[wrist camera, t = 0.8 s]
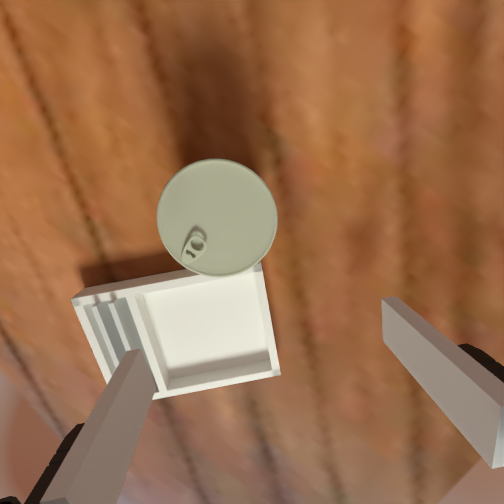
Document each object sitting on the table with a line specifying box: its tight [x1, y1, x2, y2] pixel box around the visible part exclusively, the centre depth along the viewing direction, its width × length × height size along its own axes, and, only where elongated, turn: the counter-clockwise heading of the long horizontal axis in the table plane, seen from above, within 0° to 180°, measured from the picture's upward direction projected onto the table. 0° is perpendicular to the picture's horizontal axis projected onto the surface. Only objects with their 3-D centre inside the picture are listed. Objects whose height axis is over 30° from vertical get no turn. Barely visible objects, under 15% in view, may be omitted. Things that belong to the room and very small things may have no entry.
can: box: [157, 158, 278, 277], centre depth 25 cm, size 9×9×12 cm
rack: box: [71, 261, 281, 400], centre depth 33 cm, size 16×22×4 cm
